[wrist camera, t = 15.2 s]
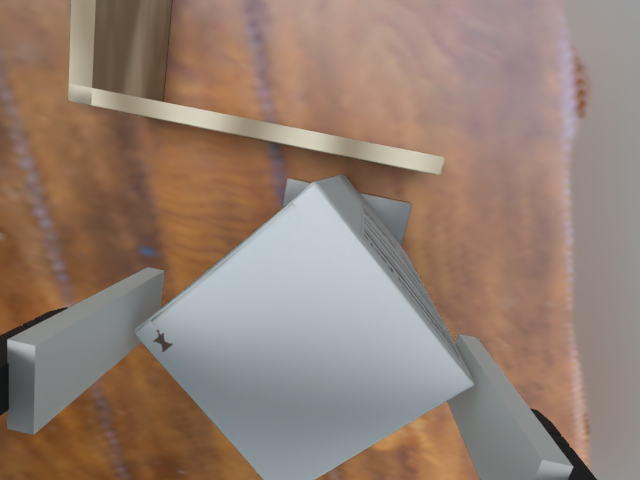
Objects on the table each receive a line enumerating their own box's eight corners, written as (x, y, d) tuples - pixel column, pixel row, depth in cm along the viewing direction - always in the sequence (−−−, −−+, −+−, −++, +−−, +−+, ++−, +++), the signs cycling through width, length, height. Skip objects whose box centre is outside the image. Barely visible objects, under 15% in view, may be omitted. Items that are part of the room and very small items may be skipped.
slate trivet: (271, 289, 32) (267, 293, 30) (290, 177, 29) (287, 178, 28) (381, 314, 31) (382, 319, 30) (409, 202, 29) (411, 204, 28)
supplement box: (323, 325, 30) (276, 511, 14) (254, 242, 30) (119, 337, 13) (415, 260, 28) (486, 390, 12) (344, 168, 28) (314, 174, 11)
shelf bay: (144, 117, 30) (68, 100, 22) (160, -93, 26) (77, -201, 18) (417, 171, 28) (440, 174, 20) (471, -42, 25) (523, -136, 17)
